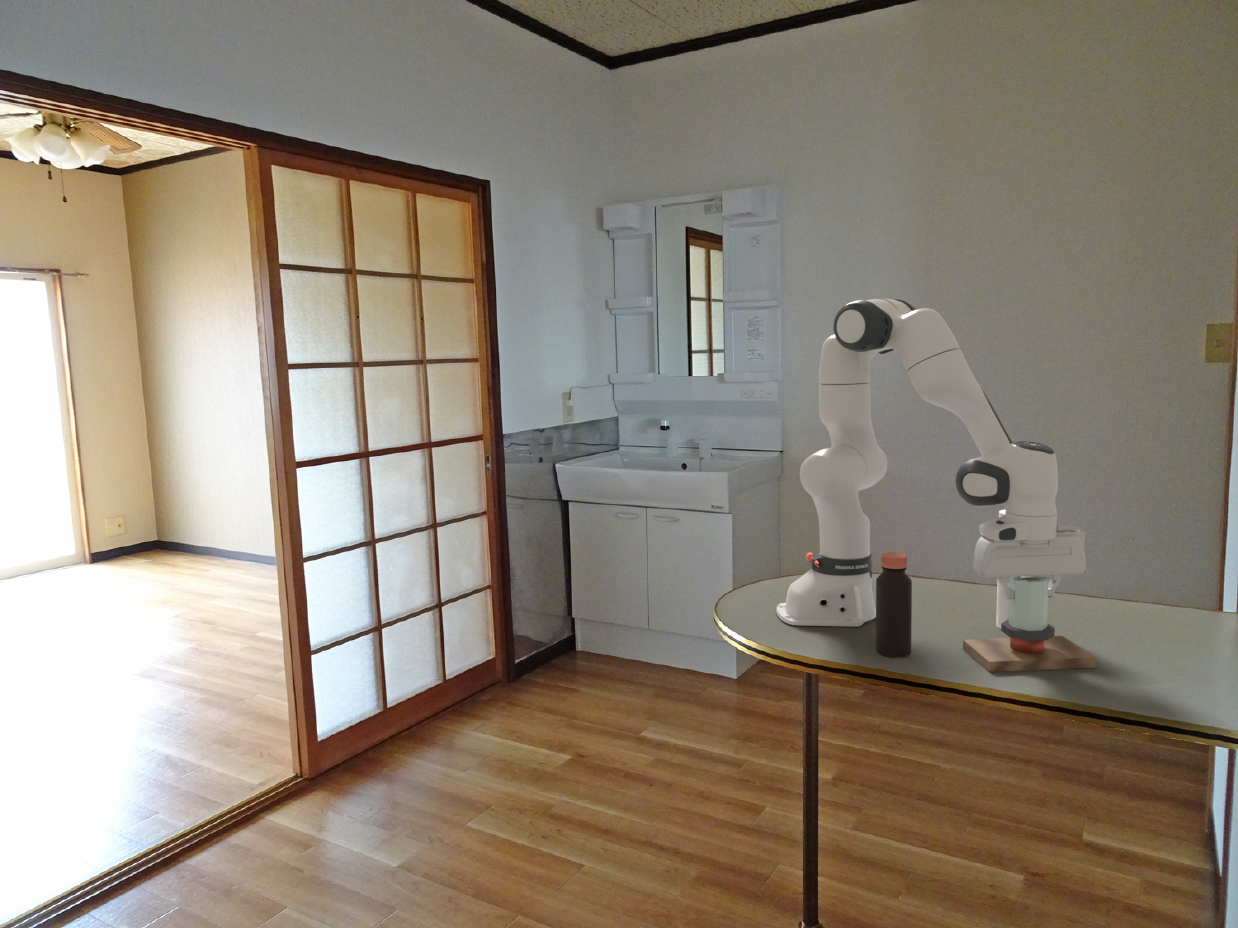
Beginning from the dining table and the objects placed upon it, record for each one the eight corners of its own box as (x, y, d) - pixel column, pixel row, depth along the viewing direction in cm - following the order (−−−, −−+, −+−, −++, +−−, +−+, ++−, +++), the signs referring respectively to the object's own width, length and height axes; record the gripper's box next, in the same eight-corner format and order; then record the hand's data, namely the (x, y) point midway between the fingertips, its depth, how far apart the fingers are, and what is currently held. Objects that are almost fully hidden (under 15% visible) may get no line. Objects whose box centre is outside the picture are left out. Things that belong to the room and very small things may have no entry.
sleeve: (1019, 631, 163) (1020, 582, 162) (1004, 620, 170) (1005, 574, 168) (1051, 630, 164) (1053, 581, 162) (1035, 619, 170) (1037, 572, 168)
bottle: (899, 644, 177) (900, 549, 174) (917, 656, 171) (919, 557, 168) (869, 648, 176) (869, 552, 173) (886, 659, 169) (887, 560, 166)
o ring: (1015, 641, 162) (1015, 633, 162) (995, 626, 171) (995, 619, 171) (1061, 639, 163) (1061, 631, 162) (1038, 624, 171) (1038, 617, 171)
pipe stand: (988, 671, 161) (990, 589, 159) (962, 649, 173) (964, 571, 171) (1095, 667, 162) (1098, 584, 159) (1061, 645, 173) (1064, 567, 171)
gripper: (1076, 521, 167) (1073, 590, 169) (970, 525, 167) (969, 594, 169) (1094, 528, 161) (1091, 600, 163) (984, 532, 161) (983, 604, 163)
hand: (1028, 597), depth 166 cm, fingers closed on sleeve, 6 cm apart
